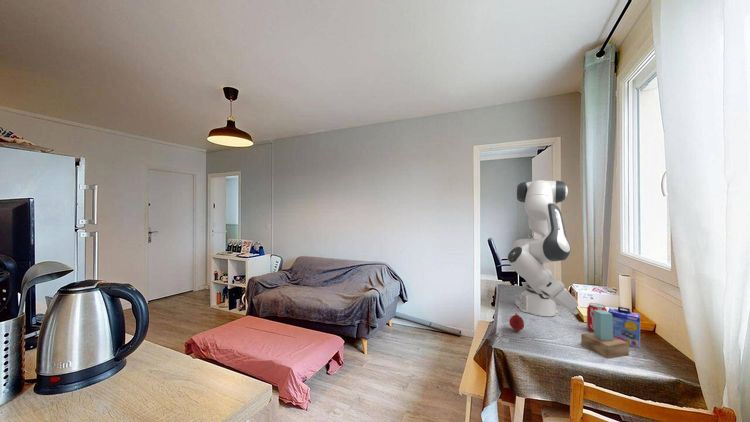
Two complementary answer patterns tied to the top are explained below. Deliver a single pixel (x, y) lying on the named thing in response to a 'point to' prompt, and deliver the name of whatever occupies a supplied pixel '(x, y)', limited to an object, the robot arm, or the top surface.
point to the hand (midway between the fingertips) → (567, 308)
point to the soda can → (591, 314)
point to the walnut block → (605, 346)
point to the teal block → (603, 325)
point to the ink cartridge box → (626, 326)
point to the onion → (516, 322)
